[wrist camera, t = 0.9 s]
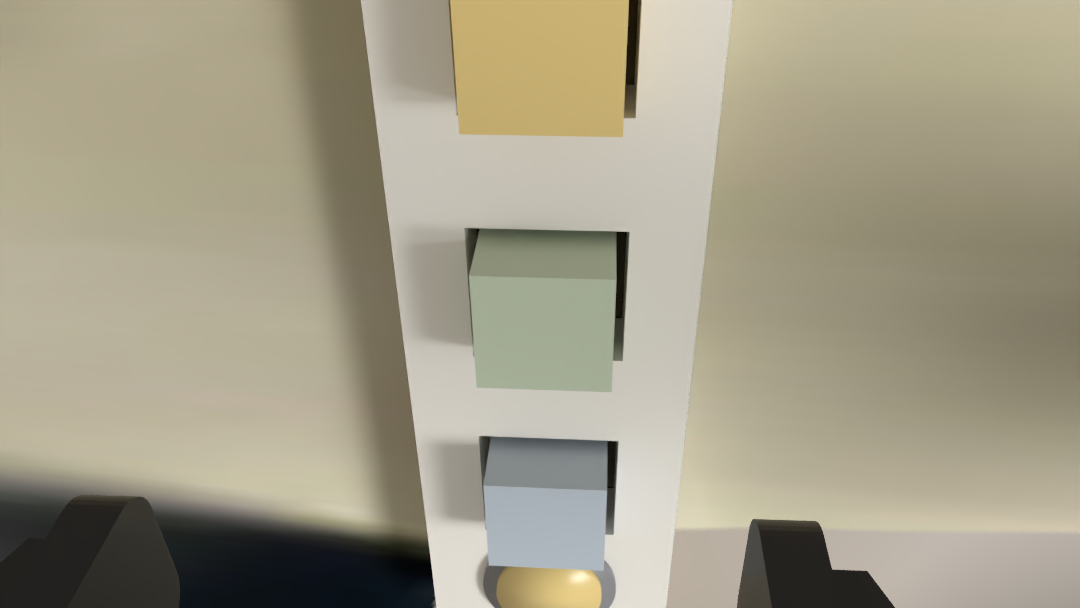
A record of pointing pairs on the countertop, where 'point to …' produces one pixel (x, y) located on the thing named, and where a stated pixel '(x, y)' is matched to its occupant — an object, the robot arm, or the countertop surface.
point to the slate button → (546, 502)
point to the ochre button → (540, 66)
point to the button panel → (550, 204)
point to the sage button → (544, 309)
